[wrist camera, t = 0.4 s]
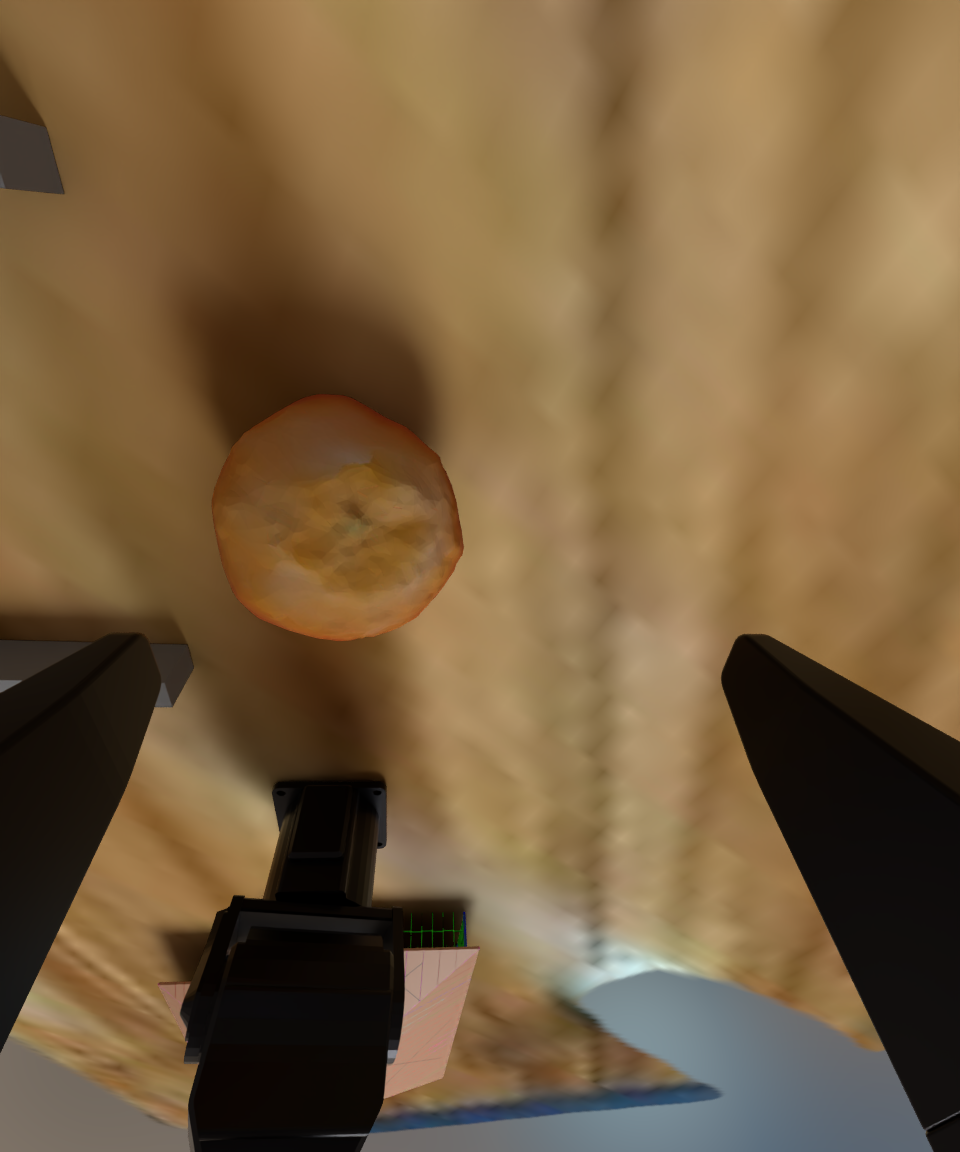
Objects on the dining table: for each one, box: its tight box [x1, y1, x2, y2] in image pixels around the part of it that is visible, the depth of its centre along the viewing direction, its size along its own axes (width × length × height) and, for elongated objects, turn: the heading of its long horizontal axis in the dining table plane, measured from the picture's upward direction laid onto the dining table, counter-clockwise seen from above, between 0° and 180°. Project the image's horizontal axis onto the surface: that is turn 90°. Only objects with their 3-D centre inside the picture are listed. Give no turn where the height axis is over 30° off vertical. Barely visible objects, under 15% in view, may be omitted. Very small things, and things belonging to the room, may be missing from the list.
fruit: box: [212, 394, 464, 641], centre depth 19 cm, size 8×8×8 cm
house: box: [158, 912, 480, 1099], centre depth 45 cm, size 23×33×8 cm
